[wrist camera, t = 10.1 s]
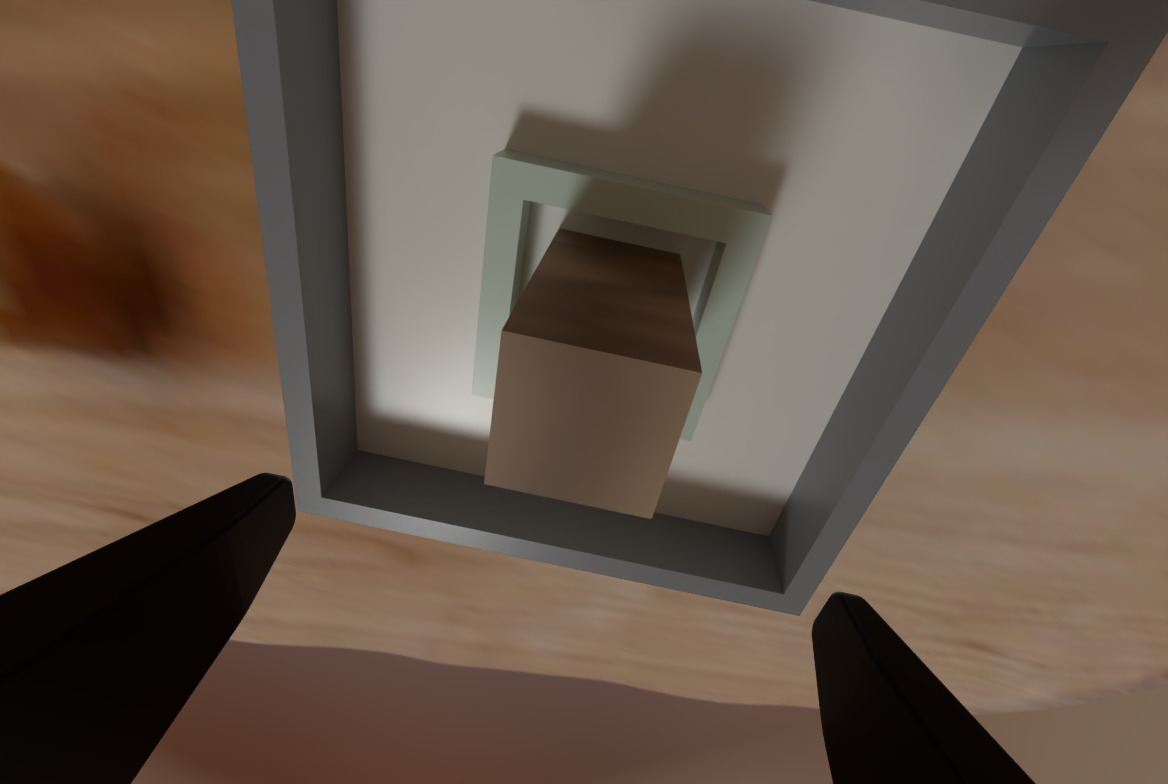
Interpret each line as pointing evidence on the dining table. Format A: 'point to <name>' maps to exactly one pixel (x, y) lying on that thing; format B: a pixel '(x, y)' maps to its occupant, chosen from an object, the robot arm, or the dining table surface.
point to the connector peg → (594, 376)
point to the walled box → (657, 240)
